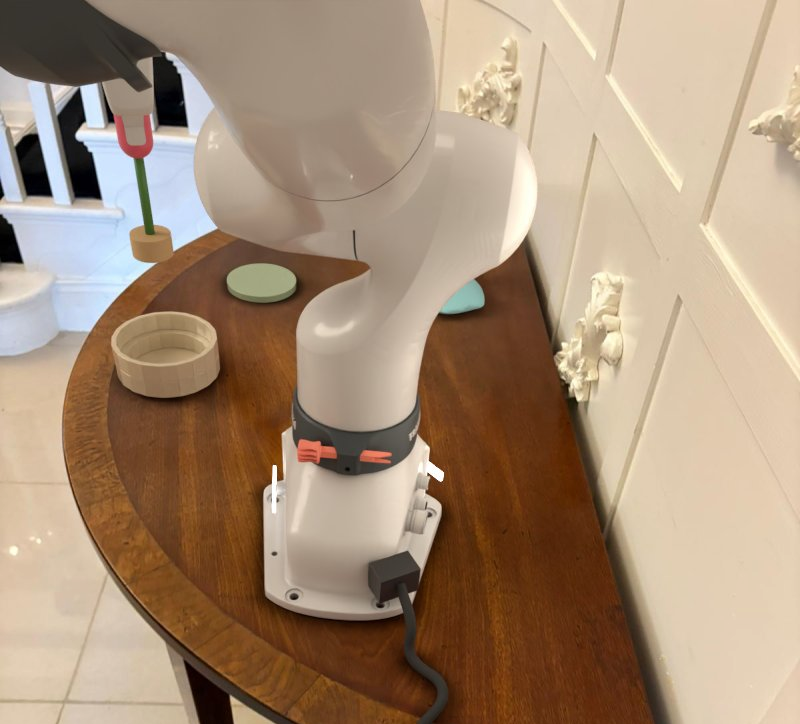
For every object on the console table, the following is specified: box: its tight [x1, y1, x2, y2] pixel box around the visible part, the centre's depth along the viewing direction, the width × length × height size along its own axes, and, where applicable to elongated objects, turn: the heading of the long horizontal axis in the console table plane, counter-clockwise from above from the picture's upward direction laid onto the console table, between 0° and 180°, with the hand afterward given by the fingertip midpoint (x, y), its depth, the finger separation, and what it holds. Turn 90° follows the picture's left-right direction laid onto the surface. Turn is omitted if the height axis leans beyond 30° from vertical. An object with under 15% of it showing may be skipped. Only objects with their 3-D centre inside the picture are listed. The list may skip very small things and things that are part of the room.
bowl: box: [110, 310, 221, 399], centre depth 96 cm, size 12×12×5 cm
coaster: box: [226, 262, 297, 304], centre depth 114 cm, size 10×10×1 cm
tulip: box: [113, 114, 175, 264], centre depth 82 cm, size 4×4×15 cm
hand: (135, 134), depth 79 cm, fingers closed on tulip, 3 cm apart
